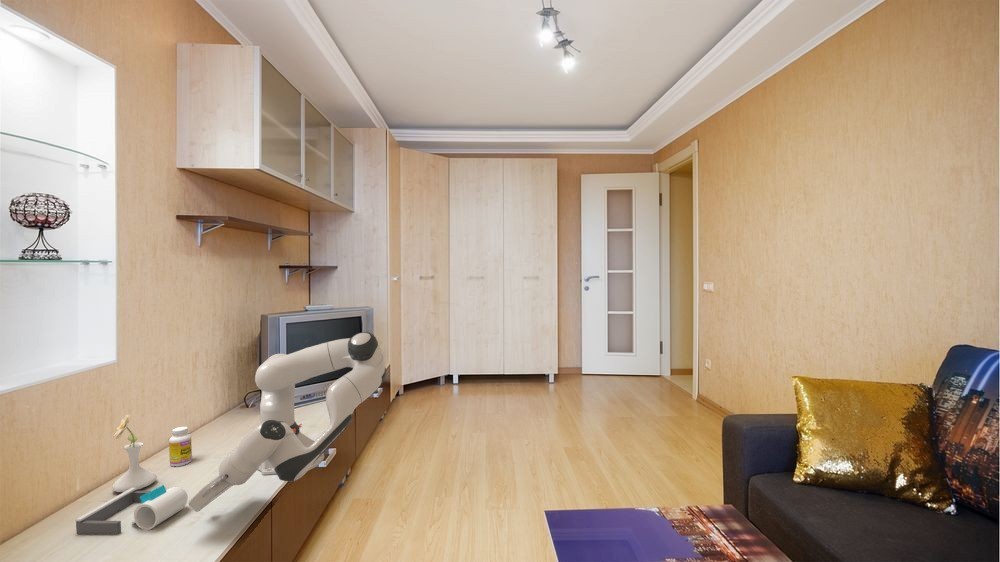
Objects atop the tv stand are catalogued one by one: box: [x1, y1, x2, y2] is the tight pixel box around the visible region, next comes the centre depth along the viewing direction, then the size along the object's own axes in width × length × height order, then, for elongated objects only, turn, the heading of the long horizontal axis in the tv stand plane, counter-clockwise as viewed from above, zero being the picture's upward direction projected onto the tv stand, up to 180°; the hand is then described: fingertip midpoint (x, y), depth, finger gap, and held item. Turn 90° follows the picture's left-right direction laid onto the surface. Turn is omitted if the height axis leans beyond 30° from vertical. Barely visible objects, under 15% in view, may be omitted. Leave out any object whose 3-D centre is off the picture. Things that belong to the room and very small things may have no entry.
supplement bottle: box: [168, 426, 193, 467], centre depth 163 cm, size 7×7×13 cm
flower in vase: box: [111, 413, 158, 493], centre depth 145 cm, size 13×11×25 cm
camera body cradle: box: [75, 488, 151, 535], centre depth 128 cm, size 12×17×4 cm, turn 177°
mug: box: [131, 484, 189, 531], centre depth 127 cm, size 12×9×12 cm
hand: (205, 502), depth 127 cm, fingers closed
